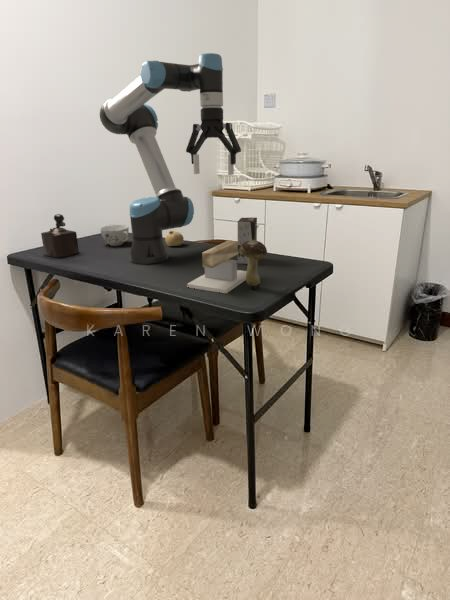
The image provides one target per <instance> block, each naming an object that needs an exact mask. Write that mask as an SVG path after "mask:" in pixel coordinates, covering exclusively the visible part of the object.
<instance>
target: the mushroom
mask: <svg viewBox="0 0 450 600" xmlns="http://www.w3.org/2000/svg"><path fill="white" fill-rule="evenodd" d="M240 251H241V253H242V254H243V255H245V256H247V257H248V264H247V267H246V271H247V272H246V280H245V281H246V285H248V286H249V287H250V288H251V289H252V290H257V289H259V287H261V278H260V275H259V272H258V265H259V261H261V260H264V259H265V258H266V257H267V255H268V250H267V247H266V245H264V243H262V242H261V241H259V240H257V241H256V240H249V241H246V242H244V243H243V244H241V246H240Z"/></svg>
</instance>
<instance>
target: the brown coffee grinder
mask: <svg viewBox="0 0 450 600" xmlns="http://www.w3.org/2000/svg"><path fill="white" fill-rule="evenodd" d="M53 219H54V221H55V227H52V228H50V229H49V231H45V232H41V233H40V234H41V235H40V236H41V240H42V247H43V253H44V254H43V255H45V256H48V257H51V258H57V259H58V258H59V259H60V258H64V257H69V256H73V255H78V254H79V253H80V251H79V243H78V236H77V235H78V234H77V231H73V230H69V229H66V228H64V227H65V226H66V225H67V224H66V222H64V220H65V217H64V215H63V214H60V213H57V214H54V215H53Z"/></svg>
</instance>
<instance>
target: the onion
mask: <svg viewBox="0 0 450 600" xmlns="http://www.w3.org/2000/svg"><path fill="white" fill-rule="evenodd" d="M164 240H165V244H167V246H169V247H180V246H182V245H183V244H184V235H183V234H182V233H181V232H179V231H176V230H175V231H174V230H169V231H168V233H167V234H166V236H165V239H164Z"/></svg>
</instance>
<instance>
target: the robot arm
mask: <svg viewBox="0 0 450 600" xmlns="http://www.w3.org/2000/svg"><path fill="white" fill-rule="evenodd" d="M222 60H223V59H222V56H221V55H220V54H218V53H213V52H208V53H201V54H200V55H199V56H198V63H196V64H180V63H173V62H165V61H159V60H145V61H144V62H143V63H142V65H141V68H140V70H139V71H140V73H139V74H140V75H139V76H138V77H137V78H136V79H134V81H132V82H131V83H129V84H128V85H127V86H126V87H125V88H124V89H123V90H121V92H120V93H118V94H117V95H116V96H115V97H111V98H108V99H107V100H106V101H105V102H104V103H103V104H102V105H101V107H100V110H99V119H100V122H101V124H102V125H103V127H104V129H106V130H107V131H108V132H110V133H112V134H115V135H126V136H128V139H129V142H130V143H132V144H134V145H135V146H136V148H137V151H138V154H139V157H140V158H141V161H142V163H143V166H144V168H145V171H146V173H147V176H148V179H149V181H150V183H151V185H152V188H153V191H154V193H155V196H149V197H143V198H142V197H141V198H139V199H135V200H133V201H132V202H131V203H130V204H129V217H130V218H129V219H130V228H131V235H132V236H131V237H132V242H131V248H130V251H129V260H130V262H132V263H134V264H143V265H145V264H146V265H148V264H149V265H150V264H157V263H163V262H164V261H167V260H168V259H169V251H168V250H167V246H166V243H165V241H164V239H163V231H166V230H172V229H176V228H177V229H178V228H182V227H186V226H188V225H190V224H191V223H192V221H193V219H194V214H195V207H194V203H193V201H192V200H191V198H189V197H188V196H184V194H183V192H182V190H181V189H179V188H177V187H176V184H175V183H174V182H175V181H174V180H173V177H172V176H171V175H172V174H171V173H170V170H169V168H168V166H167V162H166V160H165V158H164V155H163V154H162V151H161V148H160V146H159V144H158V141H157V138H156V135H157V133H158V132H157V130H158V127H159V123H158V121H159V120H158V119H159V118H158V115H157V113H156V111H155V110H154V108H153V107H152V106H150V105H148V104H147V103H148V102H149V101H150V100H151V99H153V98H154V97H156V96H157V95H158V94H159V93H160V92H163V90H165V89H167V90H179V91H181V92H192V91H193V92H194V91H197V90H199V101H200V104H199V105H200V107H201V108H200V122H201V124H199V123H193V125H192V132H191V135H190V138H189V141H188V144H187V145H186V146H187V147H186V150H185V152H186V153H188V154H190V155H191V165H193V175H199V174H201V173H200V155H199V154H198V152H199V150H200V149H201V148H202V146H203V144H204V143H205V141H206V140H207V139H208V138H209V139H211V138H217V139H219V140H220V142H221V143H222V145H224V147H225V148H226V150H227V151H228V153H229V154H227V175H228V176H232V175H234V174H235V173H234V172H235V169H234V168H235V167H234V166H235V165H236V162H237V154H239V153H241V151H242V149H241V146H240V144H239V142H238V141H239V140H238V139H237V137H236V134H235V132H234V130H233V123H232V122H225V123H224V109H223V106H224V95H223V94H224V93H223V91H224V90H223V88H224V87H223V85H224V84H223V83H224V82H223V79H224V76H223V74H224V73H223V71H224V67H223V61H222ZM223 130H225V131H226V134H227V136H228V138H229V139H228V138H227V137H226V134H225V133H224V131H223ZM200 131H202V132H201V134H200V135H199V133H200ZM198 136H199V138H198Z"/></svg>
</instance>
